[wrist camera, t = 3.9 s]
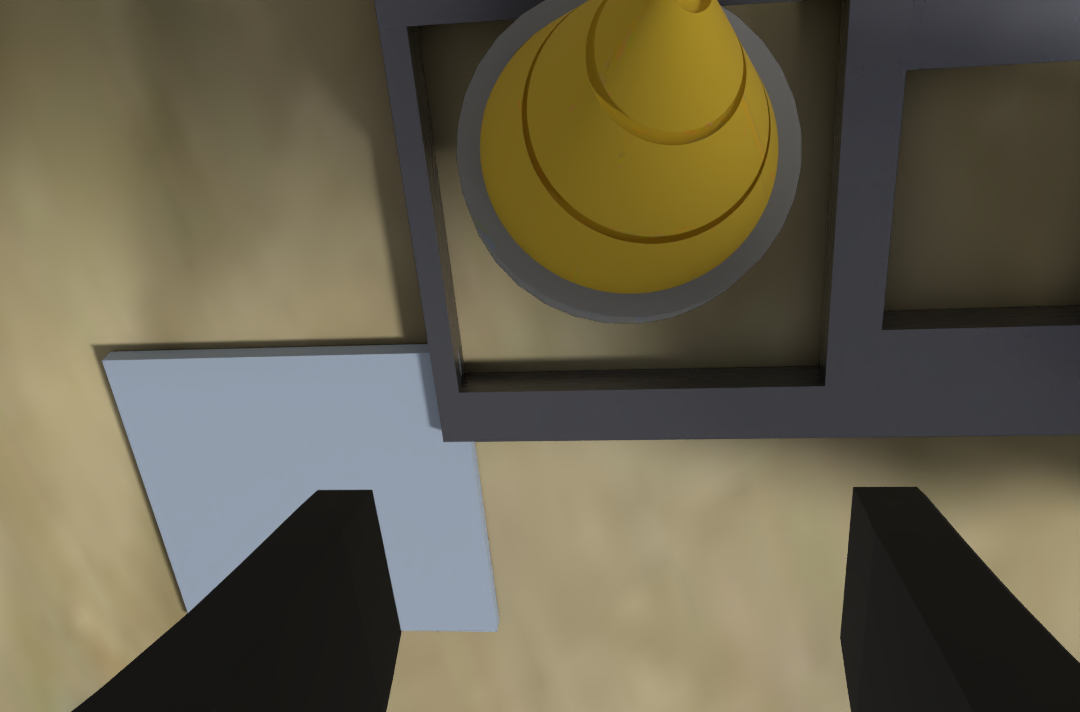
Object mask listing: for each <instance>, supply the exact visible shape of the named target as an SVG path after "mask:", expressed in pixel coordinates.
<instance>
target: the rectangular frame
mask: <svg viewBox="0 0 1080 712" xmlns="http://www.w3.org/2000/svg"><path fill="white" fill-rule="evenodd" d="M543 1H545V0H374V2H375V8H376V14H377V21H378V27H379V34H380V40H381V46H382V53H383V59H384V66H385V72H386V78H387V85H388V91H389V97H390V104H391V110H392V117H393V123H394V129H395V136H396V142H397V149H398V155H399V161H400V168H401V174H402V181H403V187H404V193H405V200H406V206H407V213H408V219H409V225H410V232H411V238H412V245H413V251H414V257H415V264H416V270H417V276H418V283H419V289H420V296H421V302H422V308H423V315H424V321H425V328H426V334H427V340H428V347H429V353H430V360H431V366H432V372H433V379H434V385H435V392H436V398H437V404H438V411H439V417H440V424H441V430H442V436H443V442H492V441H579V440H667V439H754V438H841V437H929V436H1016V435H1080V306H1052V307H1015V308H977V309H940V310H903V311H884V301H885V290H886V280H887V269H888V259H889V248H890V237H891V227H892V216H893V206H894V195H895V185H896V174H897V164H898V153H899V142H900V132H901V121H902V111H903V100H904V90H905V79H906V70H918V69H936V68H954V67H972V66H989V65H1007V64H1025V63H1043V62H1061V61H1078V60H1080V0H842V10H841V26H840V42H839V58H838V74H837V91H836V107H835V123H834V139H833V156H832V172H831V188H830V204H829V220H828V237H827V253H826V269H825V285H824V301H823V318H822V334H821V350H820V366H802V367H752V368H703V369H654V370H604V371H555V372H506V373H465V368H464V361H463V354H462V346H461V339H460V332H459V325H458V317H457V310H456V303H455V296H454V288H453V281H452V274H451V267H450V259H449V252H448V245H447V238H446V230H445V223H444V216H443V209H442V202H441V194H440V187H439V180H438V173H437V165H436V158H435V151H434V144H433V136H432V129H431V122H430V115H429V107H428V100H427V93H426V86H425V78H424V71H423V64H422V57H421V49H420V42H419V35H418V28H417V26H420V25H435V24H450V23H466V22H481V21H496V20H511V19H518V18H519V17H520V16H521V15H522V14H524V13H525V12H527V11H529V10H530V9H532V8H533V7H535V6H537V5H538V4H540V3H541V2H543ZM717 1H718V2H719V4H720V5H721V6H725V5H740V4H755V3H771V2H786V1H801V0H717ZM458 351H459V357H458ZM459 359H460V361H459ZM459 362H460V364H459ZM460 366H461V368H460ZM460 369H461V370H462V371H460ZM461 376H462V378H461Z"/></svg>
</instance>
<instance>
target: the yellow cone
mask: <svg viewBox="0 0 1080 712" xmlns="http://www.w3.org/2000/svg"><path fill="white" fill-rule="evenodd" d="M457 164H458V170H459V175H460V181H461V186H462V192H463V195H464V198H465V201H466V204H467V207H468V209H469V212H470V214H471V217H472V219H473V222H474V224H475V227H476V229H477V232H478V235H479V237H480V238H481V240H482V241H483V243H484V244H485V246H486V247H487V249H488V251H489V252H490V254H491V255H492V257H493V258H494V260H495V261H496V263H497V264H498V265H499V266H500V267H501V268H502V269H503V270H504V271H505V272H506V273H507V274H508V275H509V276H510V277H511V278H512V279H513V280H514V281H515V282H516V283H517V284H518V285H519V286H520V287H522V288H523V289H524V290H526V291H527V292H529V293H530V294H532V295H533V296H535V297H536V298H537V299H539V300H540V301H542V302H543V303H545V304H547V305H549V306H552V307H554V308H556V309H558V310H561V311H563V312H565V313H568V314H570V315H572V316H575V317H579V318H584V319H589V320H593V321H598V322H603V323H619V324H641V323H646V322H652V321H657V320H663V319H668V318H672V317H675V316H677V315H680V314H682V313H685V312H687V311H690V310H692V309H695V308H697V307H700V306H702V305H703V304H705V303H706V302H708V301H710V300H711V299H713V298H714V297H716V296H717V295H719V294H720V293H722V292H724V291H725V290H727V289H728V288H729V287H730V286H732V285H733V284H734V283H735V282H737V281H738V280H739V279H740V278H741V277H742V276H743V275H744V274H745V273H746V272H747V271H748V270H749V269H750V268H751V267H752V266H753V265H754V264H755V263H756V262H758V261H759V260H760V259H761V258H762V257H763V255H764V254H765V252H766V251H767V250H768V248H769V247H770V245H771V244H772V242H773V241H774V239H775V238H776V236H777V235H778V233H779V232H780V231H781V229H782V227H783V225H784V222H785V220H786V218H787V215H788V213H789V210H790V208H791V206H792V203H793V201H794V199H795V195H796V190H797V185H798V180H799V175H800V170H801V128H800V123H799V118H798V113H797V108H796V103H795V99H794V97H793V94H792V92H791V90H790V87H789V85H788V82H787V80H786V78H785V75H784V73H783V71H782V68H781V67H780V66H779V64H778V63H777V61H776V60H775V58H774V57H773V55H772V54H771V52H770V51H769V49H768V48H767V46H766V45H765V43H764V42H763V41H762V40H761V39H760V38H759V37H758V36H757V35H756V34H755V33H754V32H753V31H752V30H751V29H750V28H749V27H748V26H747V25H746V24H745V23H744V22H743V21H742V20H741V19H740V18H739V17H737V16H736V15H734V14H733V13H731V12H730V11H728V10H727V9H725V8H724V7H722V6H721V5H720V4H719V2H718V1H717V0H545V1H543V2H541V3H540V4H538V5H537V6H535V7H533V8H532V9H530V10H529V11H527V12H525V13H524V14H522V15H521V16H520V17H519V18H518V19H517V20H516V21H515V22H514V23H513V24H511V25H510V26H509V27H508V28H507V29H506V30H505V31H504V32H503V33H502V34H501V35H500V36H499V37H498V38H497V39H496V41H495V42H494V43H493V45H492V46H491V48H490V49H489V50H488V52H487V53H486V55H485V56H484V57H483V59H482V60H481V61H480V63H479V64H478V67H477V69H476V71H475V73H474V75H473V78H472V80H471V82H470V84H469V86H468V89H467V91H466V93H465V96H464V101H463V105H462V109H461V114H460V118H459V123H458V130H457Z"/></svg>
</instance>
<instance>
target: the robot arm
mask: <svg viewBox="0 0 1080 712" xmlns="http://www.w3.org/2000/svg"><path fill="white" fill-rule="evenodd" d="M400 636H401V628H400V623H399V618H398V613H397V608H396V603H395V598H394V593H393V588H392V584H391V579H390V574H389V569H388V564H387V559H386V554H385V549H384V544H383V539H382V534H381V530H380V525H379V520H378V515H377V510H376V505H375V500H374V495H373V490H317V491H316V492H315V493H314V494H313V495H311V496H310V497H309V498H308V499H307V500H306V501H305V502H304V503H303V504H302V505H301V506H300V507H298V508H297V509H296V510H295V511H294V512H293V513H292V514H291V515H290V516H289V517H288V518H287V519H286V520H285V521H284V522H283V523H282V524H281V525H280V526H279V527H278V528H277V529H276V530H275V531H274V532H273V533H272V534H271V535H270V536H269V537H268V538H266V539H265V540H264V541H263V542H262V543H261V544H260V545H259V546H258V547H257V548H256V549H255V550H254V551H253V552H252V553H251V554H250V555H249V556H248V557H247V558H246V559H245V560H244V561H243V562H242V563H241V564H240V565H239V566H238V567H236V568H235V569H234V570H233V571H232V572H231V573H230V574H229V575H228V576H227V577H226V578H225V579H224V580H223V581H222V582H220V583H219V584H218V585H217V586H216V587H215V588H214V589H213V590H212V591H211V592H210V593H209V594H208V595H207V596H206V597H205V598H203V599H202V600H201V601H200V602H199V603H198V604H197V605H196V606H195V607H194V608H193V609H192V610H191V611H190V612H189V613H187V614H186V615H185V616H184V617H183V618H182V619H181V620H180V621H179V622H177V623H176V624H175V625H174V626H173V627H172V628H170V629H169V630H168V631H167V632H166V633H165V634H163V635H162V636H161V637H160V638H159V639H158V640H156V641H155V642H154V643H153V644H152V645H151V646H149V647H148V648H147V649H146V650H145V651H144V652H142V653H141V654H140V655H139V656H138V657H137V658H136V659H134V660H133V661H132V662H131V663H130V664H129V665H127V666H126V667H125V668H124V669H123V670H122V671H120V672H119V673H118V674H117V675H116V676H115V677H113V678H112V679H111V680H110V681H109V682H108V683H106V684H105V685H104V686H103V687H102V688H100V689H99V690H98V691H97V692H95V693H94V694H93V695H92V696H90V697H89V698H88V699H87V700H86V701H84V702H83V703H82V704H81V705H79V706H78V707H77V708H75V709H74V710H73V711H71V712H386V710H387V705H388V700H389V695H390V690H391V685H392V680H393V675H394V669H395V664H396V658H397V653H398V647H399V642H400ZM840 639H841V646H842V653H843V660H844V667H845V674H846V681H847V688H848V694H849V701H850V707H851V712H1080V663H1079V662H1078V661H1077V660H1076V659H1075V658H1074V657H1073V656H1072V655H1071V654H1070V653H1069V652H1068V651H1067V650H1066V649H1065V648H1064V647H1063V646H1062V645H1061V644H1060V643H1059V642H1058V641H1057V640H1056V639H1055V638H1054V637H1053V635H1052V634H1051V633H1050V632H1049V631H1048V630H1047V629H1046V628H1045V627H1044V626H1043V625H1042V624H1041V623H1040V622H1039V621H1038V620H1037V619H1036V618H1035V617H1034V616H1033V615H1032V614H1031V613H1030V612H1029V611H1028V610H1027V609H1026V608H1025V607H1024V606H1023V604H1022V603H1021V602H1020V601H1019V600H1018V599H1017V598H1016V597H1015V596H1014V595H1013V594H1012V593H1011V592H1010V591H1009V589H1008V588H1007V587H1006V586H1005V585H1004V584H1003V583H1002V582H1001V581H1000V580H999V579H998V577H997V576H996V575H995V574H994V573H993V572H992V571H991V570H990V569H989V567H988V566H987V565H986V564H985V563H984V562H983V561H982V560H981V558H980V557H979V556H978V555H977V554H976V553H975V552H974V551H973V549H972V548H971V547H970V546H969V545H968V544H967V543H966V541H965V540H964V539H963V538H962V537H961V536H960V535H959V533H958V532H957V531H956V530H955V529H954V528H953V526H952V525H951V524H950V523H949V522H948V521H947V519H946V518H945V517H944V516H943V515H942V514H941V512H940V511H939V510H938V509H937V508H936V507H935V505H934V504H933V503H932V502H931V501H930V500H929V498H928V497H927V496H926V495H925V494H924V493H923V492H922V491H921V490H920V489H919V488H918V487H853V497H852V508H851V520H850V531H849V543H848V554H847V566H846V577H845V589H844V601H843V612H842V624H841V635H840Z"/></svg>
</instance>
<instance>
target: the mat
mask: <svg viewBox="0 0 1080 712" xmlns="http://www.w3.org/2000/svg"><path fill="white" fill-rule="evenodd" d="M458 357H459V351H458ZM459 361H460V359H459ZM102 362H103V365H104V368H105V371H106V374H107V377H108V380H109V383H110V386H111V389H112V392H113V395H114V398H115V401H116V403H117V406H118V409H119V412H120V415H121V418H122V421H123V424H124V427H125V430H126V433H127V436H128V439H129V442H130V445H131V448H132V450H133V453H134V456H135V459H136V462H137V465H138V468H139V471H140V474H141V477H142V480H143V483H144V486H145V489H146V492H147V494H148V497H149V500H150V503H151V506H152V509H153V512H154V515H155V518H156V521H157V524H158V527H159V530H160V533H161V536H162V539H163V541H164V544H165V547H166V550H167V553H168V556H169V559H170V562H171V565H172V568H173V571H174V574H175V577H176V580H177V583H178V585H179V588H180V591H181V594H182V597H183V600H184V603H185V606H186V609H187V612H188V613H189V612H190V611H191V610H192V609H193V608H194V607H195V606H196V605H197V604H198V603H199V602H200V601H201V600H202V599H203V598H205V597H206V596H207V595H208V594H209V593H210V592H211V591H212V590H213V589H214V588H215V587H216V586H217V585H218V584H219V583H220V582H222V581H223V580H224V579H225V578H226V577H227V576H228V575H229V574H230V573H231V572H232V571H233V570H234V569H235V568H236V567H238V566H239V565H240V564H241V563H242V562H243V561H244V560H245V559H246V558H247V557H248V556H249V555H250V554H251V553H252V552H253V551H254V550H255V549H256V548H257V547H258V546H259V545H260V544H261V543H262V542H263V541H264V540H265V539H266V538H268V537H269V536H270V535H271V534H272V533H273V532H274V531H275V530H276V529H277V528H278V527H279V526H280V525H281V524H282V523H283V522H284V521H285V520H286V519H287V518H288V517H289V516H290V515H291V514H292V513H293V512H294V511H295V510H296V509H297V508H298V507H300V506H301V505H302V504H303V503H304V502H305V501H306V500H307V499H308V498H309V497H310V496H311V495H313V494H314V493H315V492H316V491H317V490H373V495H374V500H375V505H376V510H377V515H378V520H379V525H380V530H381V534H382V539H383V544H384V549H385V554H386V559H387V564H388V569H389V574H390V579H391V584H392V588H393V593H394V598H395V603H396V608H397V613H398V618H399V623H400V628H401V631H478V632H497V630H498V624H499V615H498V607H497V600H496V593H495V586H494V578H493V571H492V564H491V557H490V549H489V542H488V535H487V528H486V520H485V513H484V506H483V499H482V491H481V484H480V477H479V470H478V462H477V455H476V448H475V442H443V436H442V430H441V424H440V417H439V411H438V404H437V398H436V392H435V385H434V379H433V372H432V366H431V360H430V353H429V347H428V344H405V345H364V346H323V347H281V348H240V349H199V350H157V351H116V352H110V353H109V354H108V355H107V356H106V357H105V358H104V359H103V360H102ZM459 364H460V362H459ZM460 368H461V366H460ZM460 371H462V370H461V369H460ZM461 378H462V376H461Z"/></svg>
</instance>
